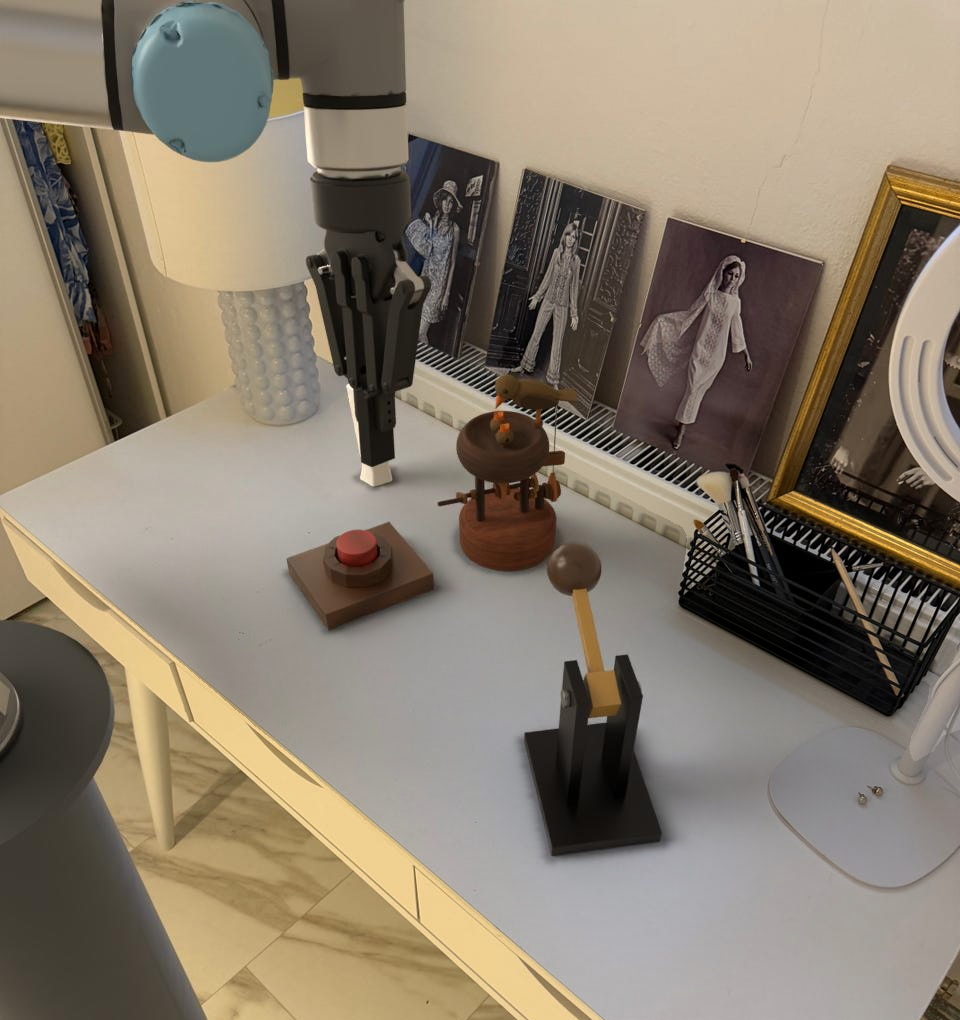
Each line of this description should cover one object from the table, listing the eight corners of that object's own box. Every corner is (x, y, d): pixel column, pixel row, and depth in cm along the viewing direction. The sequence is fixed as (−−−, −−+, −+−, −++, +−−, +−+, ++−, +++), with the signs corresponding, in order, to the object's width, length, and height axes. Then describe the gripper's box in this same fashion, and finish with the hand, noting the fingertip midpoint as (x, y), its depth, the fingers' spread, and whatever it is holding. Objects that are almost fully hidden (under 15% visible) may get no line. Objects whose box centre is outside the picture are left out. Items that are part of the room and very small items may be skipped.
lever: (540, 562, 81) (545, 534, 77) (591, 556, 81) (599, 529, 77) (572, 725, 75) (580, 704, 71) (627, 718, 75) (638, 697, 71)
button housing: (328, 630, 96) (323, 601, 93) (288, 574, 102) (283, 544, 99) (434, 589, 100) (432, 559, 97) (390, 537, 106) (387, 507, 103)
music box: (537, 494, 111) (552, 340, 96) (584, 555, 105) (608, 401, 90) (415, 531, 107) (411, 376, 91) (457, 597, 100) (460, 443, 85)
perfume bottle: (405, 475, 114) (396, 360, 103) (377, 491, 112) (366, 375, 101) (379, 460, 116) (368, 345, 106) (351, 476, 114) (337, 360, 104)
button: (348, 572, 96) (346, 559, 95) (331, 550, 99) (329, 537, 97) (384, 559, 98) (382, 545, 96) (366, 538, 100) (365, 524, 99)
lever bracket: (523, 740, 86) (528, 629, 76) (622, 728, 86) (639, 617, 77) (551, 856, 77) (561, 747, 67) (660, 841, 78) (685, 732, 68)
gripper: (455, 173, 71) (459, 469, 84) (344, 154, 79) (363, 429, 92) (377, 186, 67) (394, 496, 80) (267, 165, 74) (299, 451, 88)
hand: (378, 460), depth 86 cm, fingers closed
